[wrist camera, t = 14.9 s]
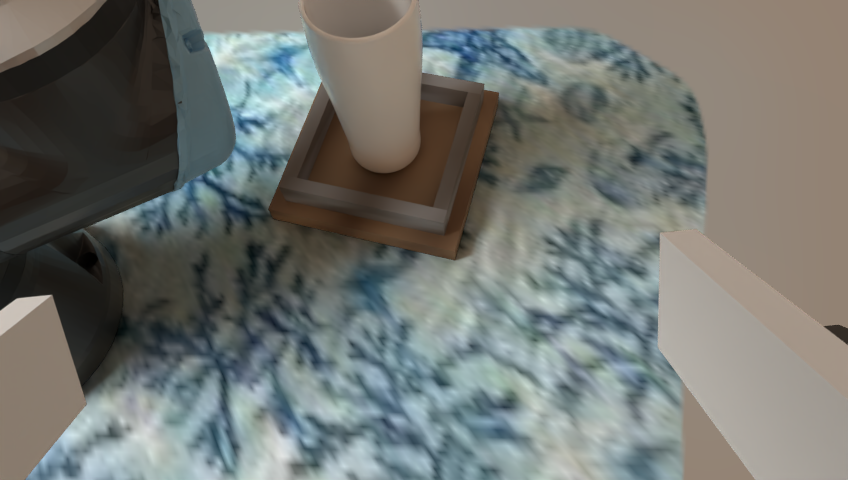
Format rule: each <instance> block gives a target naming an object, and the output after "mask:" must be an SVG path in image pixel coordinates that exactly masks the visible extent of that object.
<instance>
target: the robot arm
mask: <svg viewBox="0 0 848 480" xmlns="http://www.w3.org/2000/svg"><path fill="white" fill-rule="evenodd" d="M235 141H236V133H235V126H234V122H233V118H232V114H231V111H230V107H229V104H228V101H227V98H226V94H225V91H224V88H223V86H222V83H221V80H220V77H219V74H218V71H217V68H216V65H215V63H214V60H213V57H212V55H211V52H210V50H209V47H208V45H207V43H206V42H205V41H204V34H203V32H202V29H201V27H200V24H199V22H198V18H197V15H196V12H195V9H194V7H193V4H192V1H191V0H0V480H25V479H26V477H27V476H28V475H29V474H30V473H31V471H32V470H33V469H34V468H35V467H36V465H37V464H38V463H39V462H40V460H41V459H42V458H43V457H44V456H45V454H46V453H47V452H48V451H49V449H50V448H51V447H52V446H53V445H54V443H55V442H56V441H57V440H58V438H59V437H60V436H61V435H62V434H63V432H64V431H65V430H66V429H67V428H68V426H69V425H70V424H71V423H72V421H73V420H74V419H75V418H76V417H77V415H78V414H79V413H80V412H81V410H82V409H83V408H84V407H85V406H86V400H85V397H84V394H83V391H82V388H81V386H82V385H83V384H84V383H85V382H86V381H87V379H88V378H89V377H90V376H91V375H92V374H93V372H94V371H95V370H96V369H97V367H98V366H99V364H100V363H101V362H102V360H103V359H104V357H105V355H106V354H107V352H108V350H109V348H110V346H111V344H112V342H113V340H114V337H115V335H116V332H117V329H118V326H119V323H120V318H121V313H122V306H123V289H122V282H121V277H120V274H119V271H118V268H117V265H116V263H115V261H114V259H113V258H112V256H111V255H110V253H109V252H108V251H107V249H106V248H105V247H104V246H103V245H102V244H101V243H100V242H98V241H97V240H96V239H95V238H94V237H93V236H91V235H90V234H89V233H88V232H87V231H85V230H84V229H83V228H85V227H88V226H90V225H93V224H95V223H97V222H100V221H102V220H104V219H107V218H109V217H112V216H114V215H116V214H119V213H121V212H123V211H126V210H128V209H131V208H133V207H135V206H138V205H140V204H142V203H145V202H147V201H150V200H152V199H154V198H157V197H159V196H161V195H164V194H166V193H169V192H173V191H176V190H179V189H181V188H182V187H183V186H184V184H185V183H186V182H188V181H190V180H192V179H194V178H196V177H198V176H200V175H202V174H204V173H206V172H208V171H209V170H211V169H213V168H215V167H217V166H219V165H221V164H222V163H223V162H225V161H226V160H227V158H228V157H229V156H230V154H231V153H232V151H233V149H234V146H235ZM658 348H659V349H660V351H661V352H662V354H663V355H664V356H665V358H666V359H667V360H668V362H669V363H670V364H671V366H672V367H673V368H674V370H675V371H676V373H677V374H678V375H679V377H680V378H681V379H682V381H683V382H684V383H685V385H686V386H687V387H688V389H689V390H690V392H691V393H692V394H693V396H694V397H695V398H696V400H697V401H698V402H699V404H700V405H701V406H702V408H703V409H704V410H705V412H706V413H707V415H708V416H709V417H710V418H711V420H712V421H713V423H714V424H715V425H716V427H717V428H718V430H719V431H720V432H721V434H722V435H723V436H724V438H725V439H726V440H727V442H728V443H729V445H730V446H731V447H732V449H733V450H734V451H735V453H736V454H737V455H738V457H739V458H740V459H741V461H742V462H743V464H744V465H745V466H746V468H747V469H748V470H749V472H750V473H751V474H752V476H753V477H754V478H755V480H848V328H845V327H843V326H840V325H832V326H822V325H821V324H820V323H818V322H817V321H816V320H814V319H813V318H812V317H810V316H809V315H808V314H806V313H805V312H804V311H802V310H801V309H800V308H799V307H797V306H796V305H795V304H793V303H792V302H791V301H789V300H788V299H787V298H786V297H784V296H783V295H782V294H780V293H779V292H778V291H776V290H775V289H774V288H772V287H771V286H770V285H769V284H767V283H766V282H764V281H763V280H762V279H760V278H759V277H758V276H757V275H755V274H754V273H753V272H752V271H750V270H749V269H748V268H746V267H745V266H744V265H742V264H741V263H740V262H738V261H737V260H735V258H733V257H732V256H731V255H729V254H728V253H727V252H725V251H724V250H723V249H721V248H720V247H719V246H717V245H716V244H715V243H714V242H712V241H711V240H710V239H708V238H707V237H706V236H704V235H703V234H702V233H701V232H699V231H698V230H697V229H692V230H682V231H672V232H663V233H660V263H659V315H658Z"/></svg>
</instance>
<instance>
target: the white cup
mask: <svg viewBox="0 0 848 480" xmlns="http://www.w3.org/2000/svg"><path fill="white" fill-rule="evenodd" d="M299 12H300V15H301V19H302V24H303V28H304V32H305V36H306V40H307V43H308V47H309V50H310V53H311V56H312V59H313V61H314V64H315V67H316V69H317V72H318V74H319V76H320V79H321V81H322V83H323V85H324V88H325V90H326V92H327V94H328V96H329V99H330V101H331V103H332V105H333V108H334V110H335V112H336V115H337V117H338V119H339V121H340V124H341V126H342V128H343V131H344V133H345V135H346V138H347V140H348V144H349V147H350V150H351V153H352V155H353V157H354V159H355V160H356V161H357V162H358V164H359V165H361V166H362V167H363V168H365V169H367V170H369V171H372V172H375V173H392V172H396V171H399V170H401V169H403V168H405V167H406V166H408V165H409V164H410V163H411V162H412V161H413V160H414V159H415V157H416V156H417V154H418V152H419V149H420V145H421V133H420V105H421V80H422V56H423V41H422V23H421V14H420V6H419V0H299Z"/></svg>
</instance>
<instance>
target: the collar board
mask: <svg viewBox="0 0 848 480" xmlns="http://www.w3.org/2000/svg"><path fill="white" fill-rule="evenodd" d="M498 99H499V93H498V92H492V91H487V90H484V84H482V83H476V82H471V81H465V80H460V79H454V78H449V77H443V76H438V75H432V74H427V73H422V80H421V105H420V133H421V145H420V149H419V152H418V154H417V156H416V157H415V159H414V160H413V161H412V162H411V163H410V164H409V165H408V166H406V167H405V168H403V169H401V170H399V171H396V172H392V173H375V172H372V171H369V170H367V169H365V168H363V167H362V166H361V165H359V164H358V162H357V161H356V160H355V159H354V157H353V155H352V153H351V150H350V147H349V144H348V140H347V138H346V135H345V133H344V131H343V128H342V126H341V124H340V121H339V119H338V117H337V115H336V112H335V110H334V108H333V105H332V103H331V101H330V99H329V96H328V94H327V92H326V90H325V88H324V85H323V83H322V82H321V85H320V87H319V89H318V92H317V94H316V97H315V99H314V101H313V104H312V106H311V109H310V111H309V113H308V116H307V118H306V120H305V123H304V125H303V128H302V130H301V132H300V135H299V137H298V140H297V142H296V144H295V147H294V149H293V151H292V154H291V156H290V159H289V161H288V163H287V166H286V168H285V171H284V173H283V175H282V178H281V180H280V182H279V185H278V187H277V190H276V192H275V194H274V197H273V199H272V202H271V204H270V206H269V209H268V210H269V212H270V213H271V215H272V217H273V219H276V220H281V221H285V222H290V223H294V224H298V225H303V226H307V227H311V228H316V229H320V230H325V231H329V232H333V233H338V234H342V235H346V236H351V237H355V238H360V239H364V240H368V241H373V242H377V243H381V244H386V245H390V246H395V247H399V248H403V249H408V250H412V251H416V252H421V253H425V254H430V255H434V256H438V257H443V258H447V259H451V260H455V258H456V255H457V251H458V247H459V244H460V240H461V237H462V233H463V229H464V226H465V222H466V219H467V215H468V211H469V208H470V204H471V200H472V197H473V193H474V190H475V186H476V182H477V179H478V175H479V172H480V168H481V164H482V161H483V157H484V153H485V150H486V146H487V143H488V139H489V135H490V132H491V128H492V125H493V121H494V117H495V114H496V110H497V107H498Z"/></svg>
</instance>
